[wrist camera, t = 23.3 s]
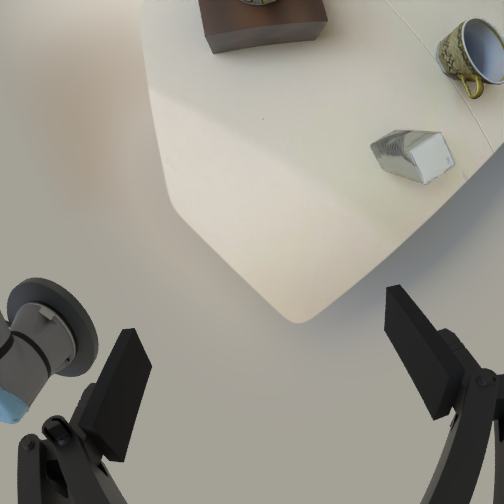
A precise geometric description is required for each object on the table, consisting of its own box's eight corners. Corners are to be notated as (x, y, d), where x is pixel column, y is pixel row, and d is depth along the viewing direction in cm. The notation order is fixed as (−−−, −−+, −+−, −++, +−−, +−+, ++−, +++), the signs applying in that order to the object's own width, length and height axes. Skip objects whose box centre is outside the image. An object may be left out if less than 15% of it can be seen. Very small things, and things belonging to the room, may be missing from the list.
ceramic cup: (431, 21, 33) (464, 4, 24) (477, 52, 34) (514, 42, 25) (417, 87, 37) (454, 78, 28) (466, 115, 38) (505, 115, 29)
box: (395, 129, 40) (443, 128, 27) (408, 155, 41) (458, 164, 29) (367, 146, 41) (408, 150, 28) (381, 172, 42) (426, 186, 30)
